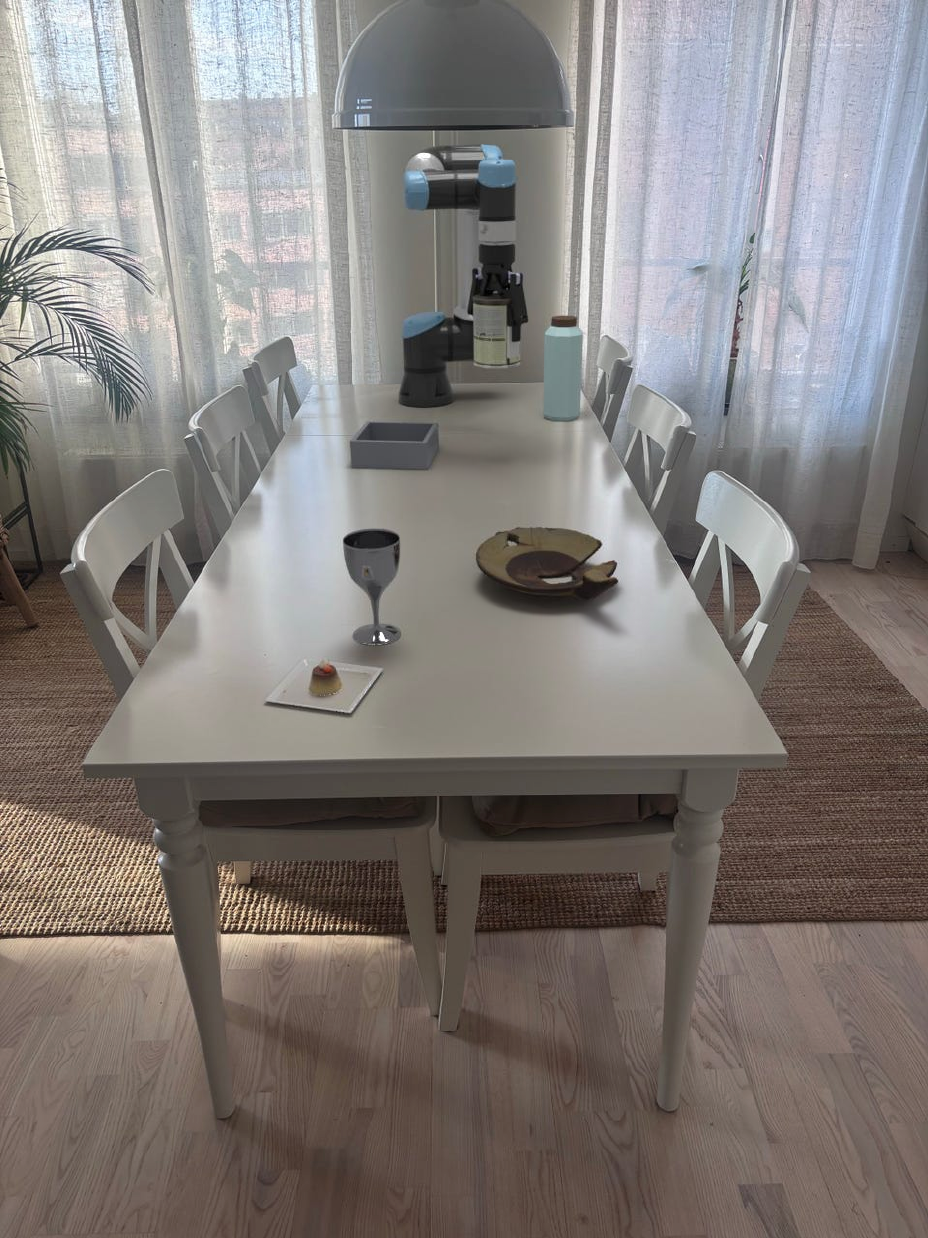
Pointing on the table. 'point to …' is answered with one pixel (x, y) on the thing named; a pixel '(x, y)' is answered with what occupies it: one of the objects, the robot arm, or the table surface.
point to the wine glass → (373, 576)
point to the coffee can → (491, 332)
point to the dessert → (322, 681)
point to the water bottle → (562, 369)
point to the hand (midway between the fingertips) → (496, 353)
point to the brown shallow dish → (545, 562)
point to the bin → (395, 445)
